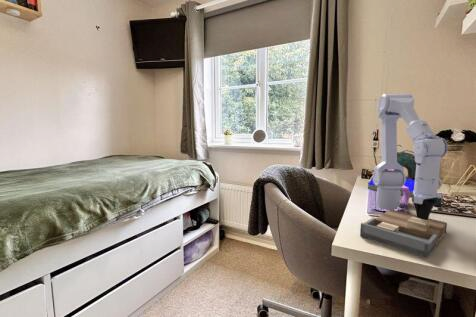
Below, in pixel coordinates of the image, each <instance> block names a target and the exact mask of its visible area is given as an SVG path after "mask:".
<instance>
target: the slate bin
mask: <svg viewBox="0 0 476 317" xmlns="http://www.w3.org/2000/svg"><path fill="white" fill-rule="evenodd" d="M376 218H377V217H376ZM376 218H375V217H372V218H370V219H368V220H366V221H365V222H361V223H360V233H359V236H360V237H362V238H365V239H368V240H371V241H374V242H377V243H380V244H384V245H386V246H390V247H391V248H395V249H398V250H401V251H405V252H408V253H410V254H414V255H417V256H419V257H422V258H425V259H428V258H429V257H430V255H431V254H432V252H434V251H435V249H436V247H437V244H438V242H437V235H435V234H433V236H432V237H431V238H430V239H429V240H428V239H425V238H421V237H418V236H414V235H411V234H407V233H404V232H400V231H398V233H396V232H392V231H389V230H385V229H382V228H378V227H377V225H376V224H375V220H376ZM436 243H437V244H436Z"/></svg>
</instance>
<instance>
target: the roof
mask: <svg viewBox="0 0 476 317" xmlns="http://www.w3.org/2000/svg"><path fill="white" fill-rule="evenodd" d="M414 184H415V179H412V178H411V179H409V178H406V182H405V184H404V186H406V187H408V188H409V191H410V195H409V198H413V197H414V195H413V190H414ZM367 190H373V191H377V186H376V185H375V184H374V182H373V175H372V176H371V177H370V179H369V180H368V182H367ZM400 192H401V196H403V195H404V192H403V190H400Z"/></svg>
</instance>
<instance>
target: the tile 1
mask: <svg viewBox="0 0 476 317" xmlns="http://www.w3.org/2000/svg"><path fill="white" fill-rule="evenodd" d="M377 227H378V228H382V229H385V230H389V231H392V232H396V233H398V231H399V226H396V225H392V224H389V223H385V222H382V223H380V224H379V225H377Z"/></svg>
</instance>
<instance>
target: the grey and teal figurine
mask: <svg viewBox="0 0 476 317" xmlns="http://www.w3.org/2000/svg"><path fill="white" fill-rule="evenodd" d="M442 186H443V181H442V180H441V178H439V181H438V190H437V192H438V191H439V190H440V189H441V187H442ZM433 199H437V202H436V203H435V205H434V206H436V207H442V202H443V201H442V199H443V196H442V197H441V198H438V197H436V198H433Z"/></svg>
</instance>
